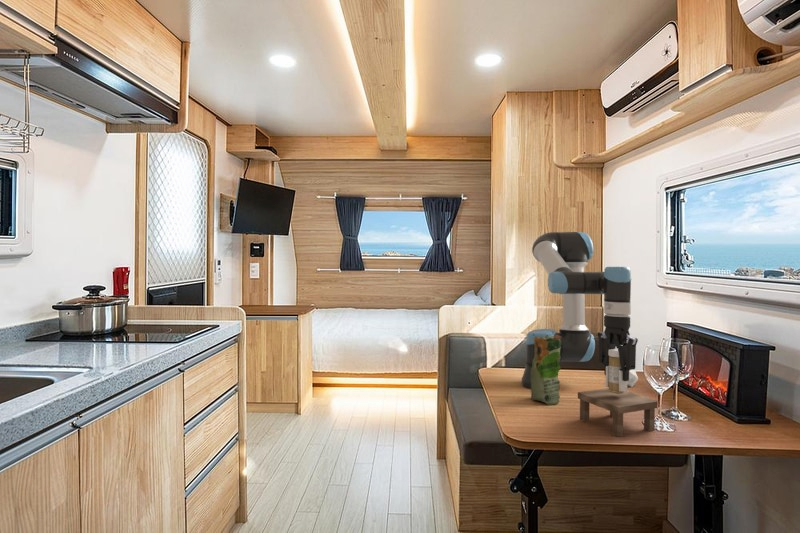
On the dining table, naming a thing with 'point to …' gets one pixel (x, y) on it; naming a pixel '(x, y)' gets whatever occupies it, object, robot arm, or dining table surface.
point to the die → (632, 378)
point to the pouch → (546, 369)
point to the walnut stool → (618, 407)
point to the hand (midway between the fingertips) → (616, 388)
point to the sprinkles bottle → (614, 371)
